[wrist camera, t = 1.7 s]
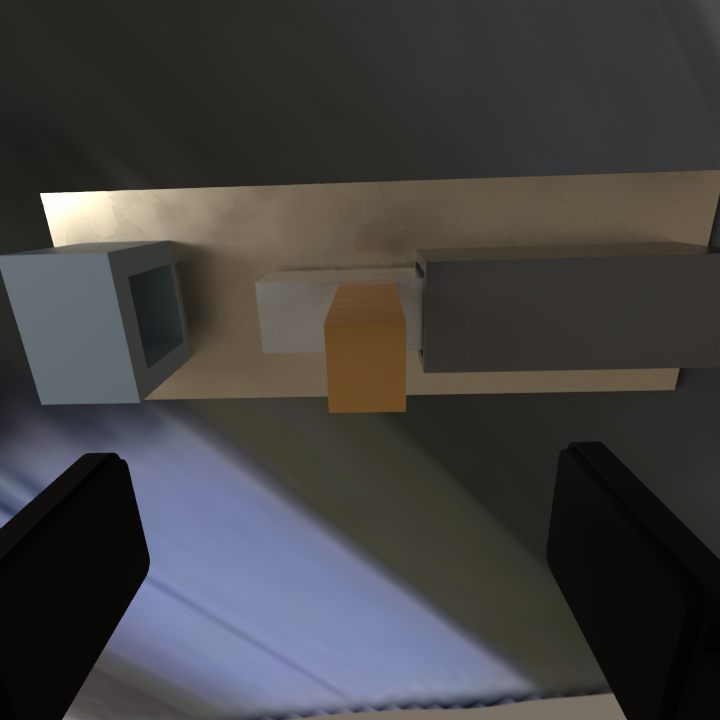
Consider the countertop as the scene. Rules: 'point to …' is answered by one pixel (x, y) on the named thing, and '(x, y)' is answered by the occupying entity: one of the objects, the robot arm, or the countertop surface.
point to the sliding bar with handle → (348, 329)
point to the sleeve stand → (442, 275)
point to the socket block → (97, 319)
